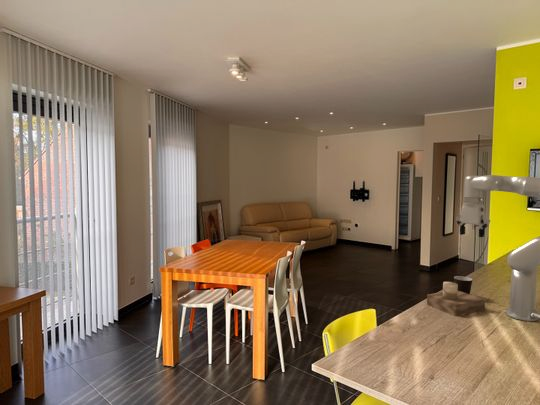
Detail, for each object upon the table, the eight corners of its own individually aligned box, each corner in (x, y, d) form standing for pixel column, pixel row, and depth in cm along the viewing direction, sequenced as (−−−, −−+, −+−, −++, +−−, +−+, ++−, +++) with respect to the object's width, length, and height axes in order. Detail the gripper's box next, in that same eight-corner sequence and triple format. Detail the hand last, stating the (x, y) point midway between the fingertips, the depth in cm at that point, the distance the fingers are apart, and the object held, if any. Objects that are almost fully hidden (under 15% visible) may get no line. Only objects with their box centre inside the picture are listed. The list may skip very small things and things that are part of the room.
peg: (459, 308, 174) (461, 284, 173) (450, 310, 171) (451, 286, 170) (448, 304, 180) (449, 281, 179) (438, 305, 177) (439, 282, 176)
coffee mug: (470, 301, 186) (471, 281, 186) (451, 297, 192) (452, 278, 191) (473, 295, 196) (474, 276, 195) (456, 292, 201) (456, 274, 200)
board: (484, 309, 174) (485, 299, 174) (454, 315, 166) (455, 305, 165) (455, 299, 188) (455, 289, 188) (426, 304, 180) (427, 294, 180)
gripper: (495, 201, 173) (494, 237, 174) (461, 200, 189) (460, 233, 190) (485, 202, 170) (484, 238, 171) (451, 200, 185) (450, 234, 186)
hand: (471, 235), depth 180 cm, fingers open, 9 cm apart
